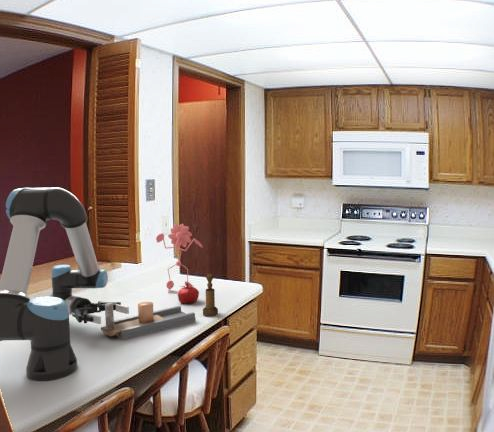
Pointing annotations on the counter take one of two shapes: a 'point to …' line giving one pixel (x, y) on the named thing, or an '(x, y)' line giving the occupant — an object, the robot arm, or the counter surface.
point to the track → (156, 322)
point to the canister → (145, 312)
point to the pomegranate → (188, 294)
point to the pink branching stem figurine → (178, 245)
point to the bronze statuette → (210, 299)
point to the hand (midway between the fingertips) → (114, 315)
